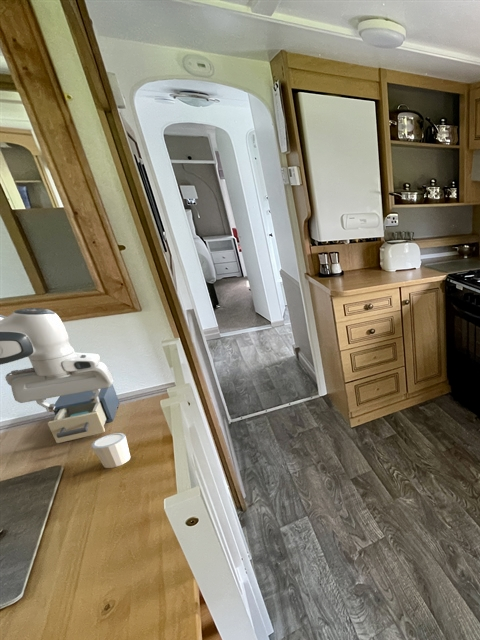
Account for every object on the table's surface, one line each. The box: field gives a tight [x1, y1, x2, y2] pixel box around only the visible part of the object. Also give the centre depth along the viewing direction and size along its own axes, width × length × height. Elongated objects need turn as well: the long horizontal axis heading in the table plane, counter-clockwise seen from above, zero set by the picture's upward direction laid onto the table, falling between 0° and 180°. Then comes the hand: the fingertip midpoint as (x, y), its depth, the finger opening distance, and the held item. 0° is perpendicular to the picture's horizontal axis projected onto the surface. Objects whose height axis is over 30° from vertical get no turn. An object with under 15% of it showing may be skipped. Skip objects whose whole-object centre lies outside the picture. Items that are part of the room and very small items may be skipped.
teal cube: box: [70, 411, 90, 417], centre depth 113 cm, size 4×4×4 cm
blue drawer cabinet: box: [53, 383, 120, 424], centre depth 121 cm, size 14×12×9 cm
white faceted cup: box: [90, 432, 131, 469], centre depth 101 cm, size 7×7×7 cm
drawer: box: [47, 401, 107, 444], centre depth 113 cm, size 17×10×7 cm, turn 34°
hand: (74, 406), depth 111 cm, fingers open, 8 cm apart
